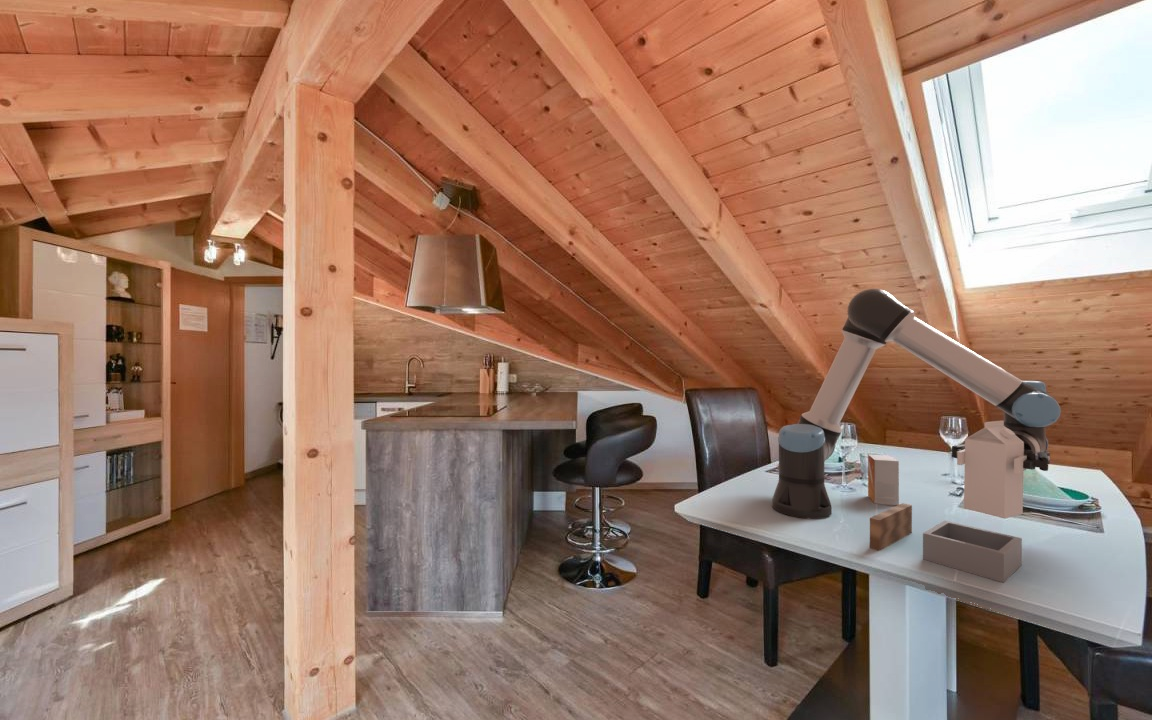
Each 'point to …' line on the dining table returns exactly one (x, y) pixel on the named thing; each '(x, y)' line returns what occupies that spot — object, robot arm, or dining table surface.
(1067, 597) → the dining table surface
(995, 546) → the tray
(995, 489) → the milk carton
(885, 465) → the small box
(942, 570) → the dining table surface
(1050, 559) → the dining table surface
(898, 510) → the walnut wall
